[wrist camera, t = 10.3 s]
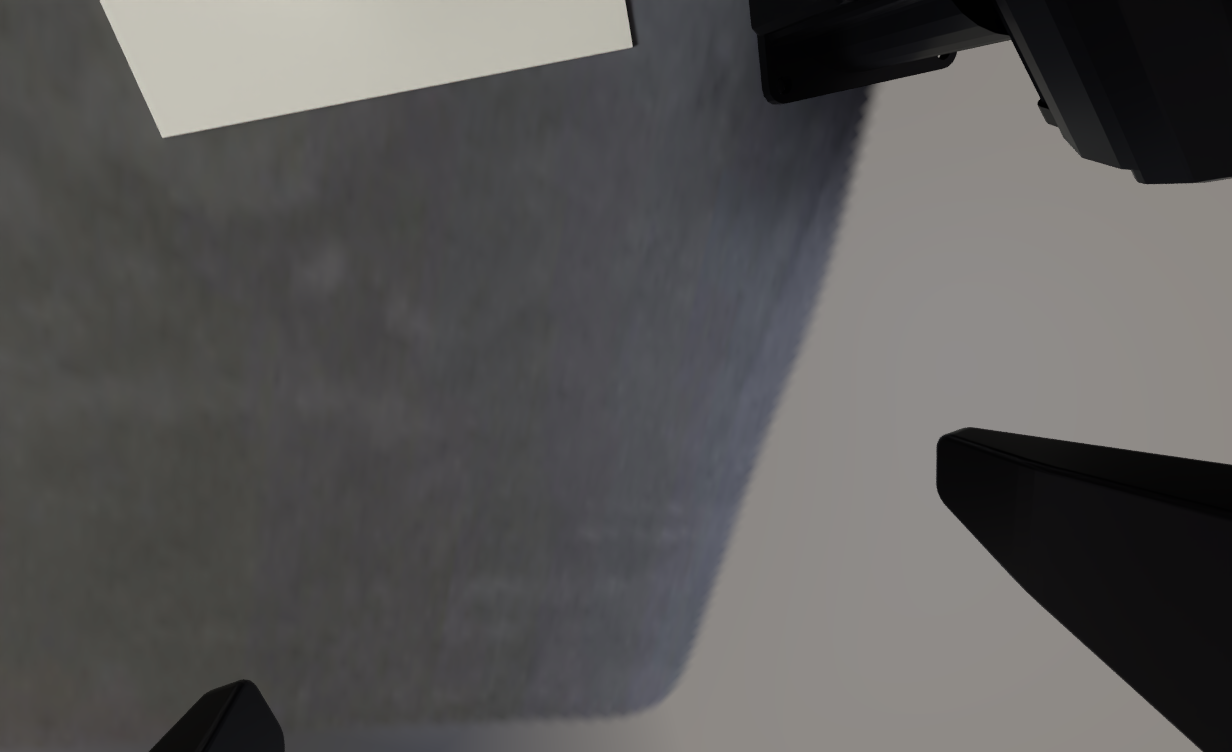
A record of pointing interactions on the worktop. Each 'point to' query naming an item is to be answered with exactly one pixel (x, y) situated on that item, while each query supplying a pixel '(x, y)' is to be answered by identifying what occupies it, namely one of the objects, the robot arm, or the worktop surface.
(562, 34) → the tile
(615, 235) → the worktop surface
